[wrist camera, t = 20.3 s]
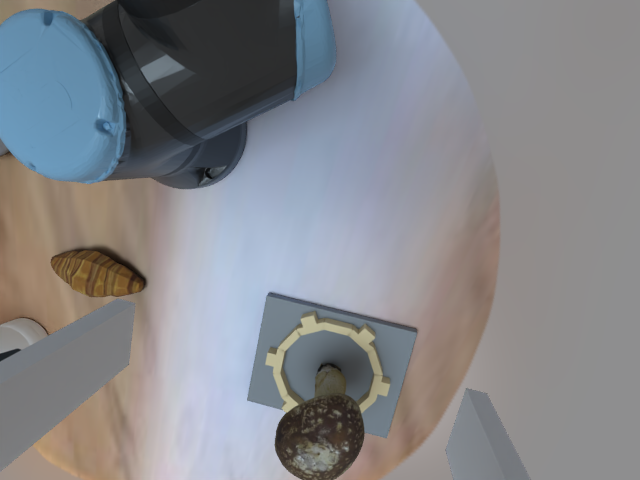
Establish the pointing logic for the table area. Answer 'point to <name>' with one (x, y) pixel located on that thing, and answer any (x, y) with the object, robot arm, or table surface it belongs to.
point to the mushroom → (321, 430)
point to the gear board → (330, 358)
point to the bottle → (20, 334)
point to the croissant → (96, 274)
